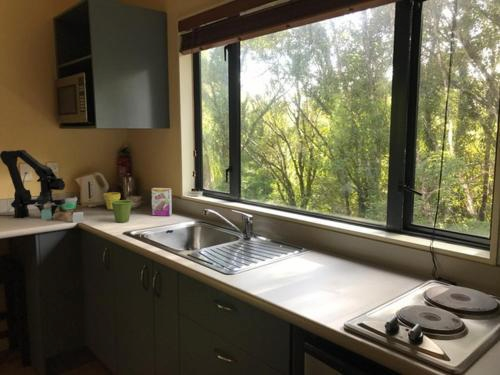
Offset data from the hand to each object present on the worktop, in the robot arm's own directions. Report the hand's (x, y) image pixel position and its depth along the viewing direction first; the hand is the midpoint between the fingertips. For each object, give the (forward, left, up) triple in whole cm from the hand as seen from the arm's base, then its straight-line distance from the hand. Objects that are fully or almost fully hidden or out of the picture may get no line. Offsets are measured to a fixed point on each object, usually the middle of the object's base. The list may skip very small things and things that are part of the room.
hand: (47, 216), depth 245 cm
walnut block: (+10, -4, -1) cm, 11 cm away
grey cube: (+21, -10, -1) cm, 23 cm away
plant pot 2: (+45, -9, -1) cm, 46 cm away
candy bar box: (+64, +8, -1) cm, 64 cm away
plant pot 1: (+28, +31, -1) cm, 42 cm away
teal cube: (0, 0, -1) cm, 1 cm away
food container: (+8, +12, -1) cm, 14 cm away
